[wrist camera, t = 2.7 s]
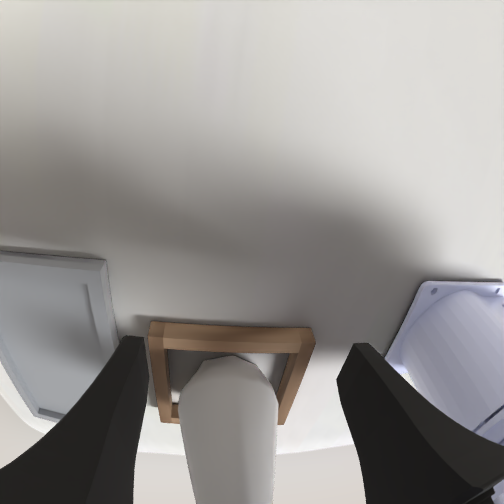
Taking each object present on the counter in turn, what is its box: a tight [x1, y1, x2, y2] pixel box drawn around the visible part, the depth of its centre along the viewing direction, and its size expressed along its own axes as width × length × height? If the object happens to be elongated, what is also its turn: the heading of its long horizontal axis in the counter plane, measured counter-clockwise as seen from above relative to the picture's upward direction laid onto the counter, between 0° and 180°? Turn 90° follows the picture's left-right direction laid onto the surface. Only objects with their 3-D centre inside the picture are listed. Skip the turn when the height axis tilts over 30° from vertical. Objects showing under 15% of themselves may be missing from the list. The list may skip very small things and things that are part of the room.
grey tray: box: [0, 251, 140, 438], centre depth 17 cm, size 10×16×1 cm, turn 173°
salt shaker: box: [178, 355, 278, 504], centre depth 13 cm, size 6×6×13 cm
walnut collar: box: [148, 321, 316, 425], centre depth 18 cm, size 9×9×1 cm
